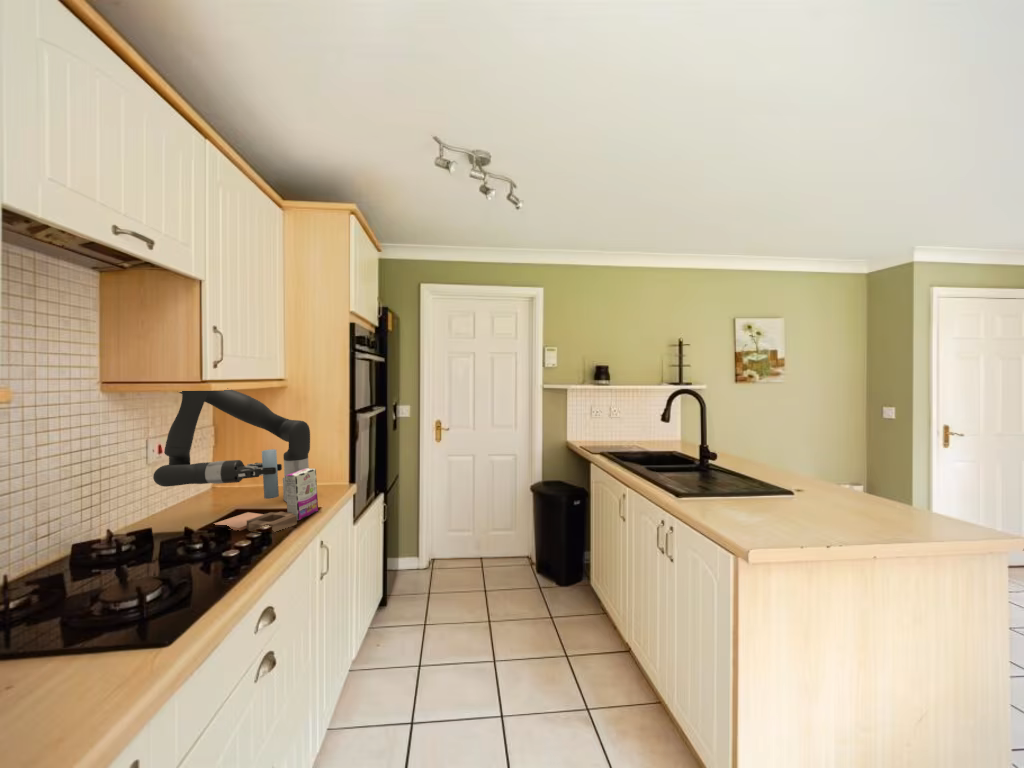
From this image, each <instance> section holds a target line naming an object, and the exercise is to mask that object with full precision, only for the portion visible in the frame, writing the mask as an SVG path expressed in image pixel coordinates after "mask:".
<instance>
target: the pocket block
mask: <svg viewBox="0 0 1024 768" xmlns="http://www.w3.org/2000/svg"><path fill="white" fill-rule="evenodd" d="M297 524H298V520H297V516H296V515H294V513H288V512H286V511H285V512H284V511H279V512H278V511H277V512H272V511H270V512H268V513H264V515H261V516H259V517H256V518H253V519H250V520H247V528H246V530H248V532H249V531H253V530H256V529H258V528H260V527H262V526H265V525H269V526H271V527H272V530H273V531H274V532H276V531H279V530H281V531H283V530H282V529H284V530H286V529H288V527H289V528H291V527H293V526H295V525H297ZM285 528H286V529H285ZM279 532H280V531H279ZM276 533H277V532H276Z"/></svg>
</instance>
